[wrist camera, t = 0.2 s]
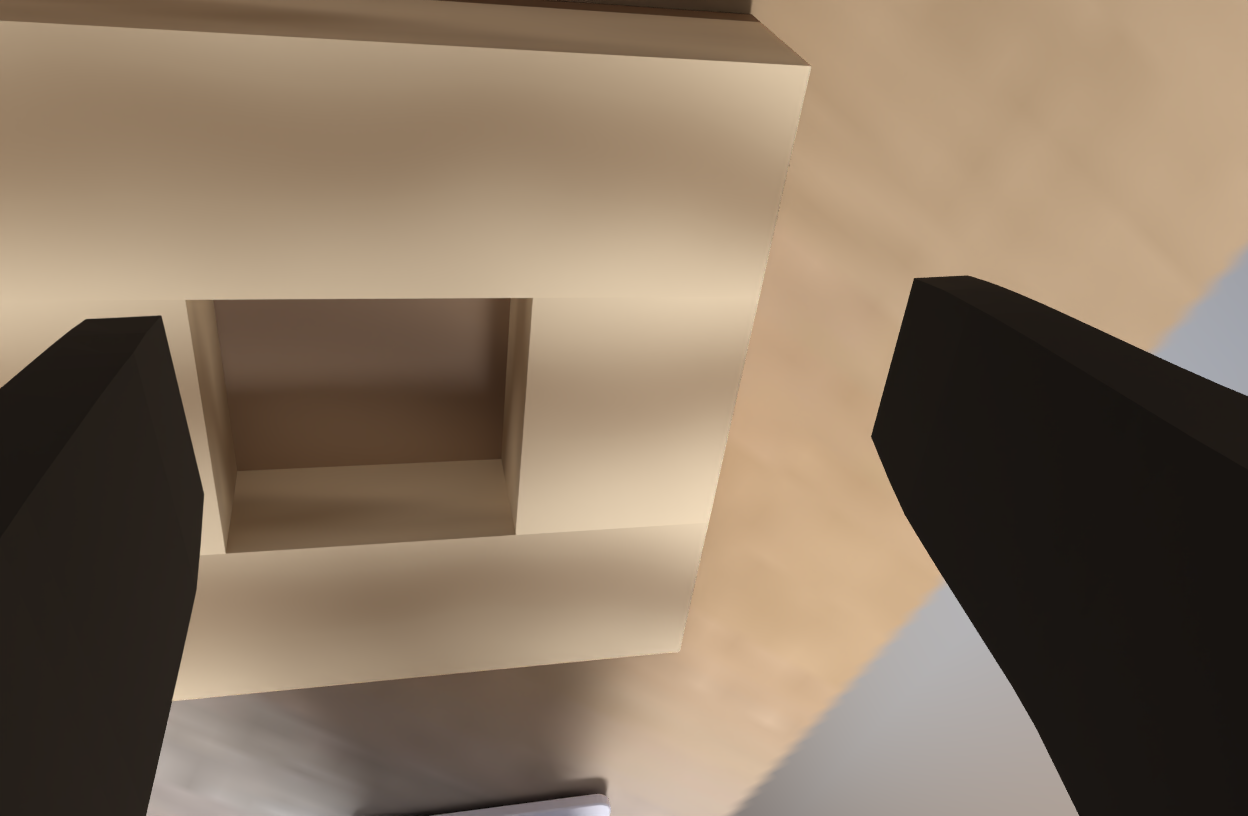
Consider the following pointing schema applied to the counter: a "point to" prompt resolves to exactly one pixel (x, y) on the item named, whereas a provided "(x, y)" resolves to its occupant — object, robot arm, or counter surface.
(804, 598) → the counter surface
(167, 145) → the oak socket block
